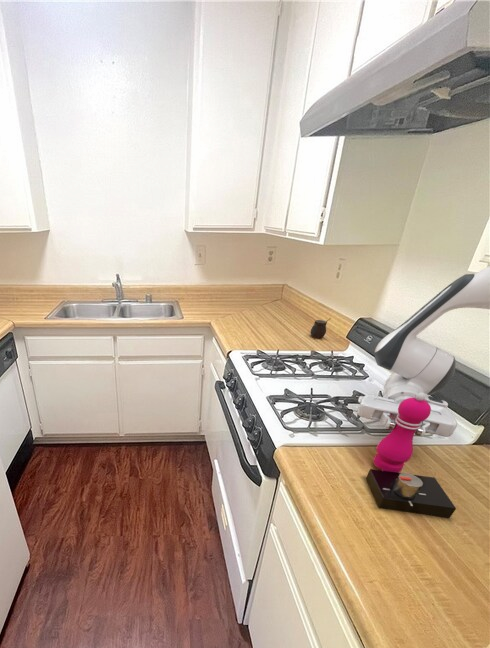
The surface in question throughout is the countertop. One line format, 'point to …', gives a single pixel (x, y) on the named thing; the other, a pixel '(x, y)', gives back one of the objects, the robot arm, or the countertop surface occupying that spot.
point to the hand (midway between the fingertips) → (405, 430)
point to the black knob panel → (425, 502)
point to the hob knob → (407, 485)
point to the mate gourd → (319, 329)
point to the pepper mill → (402, 434)
